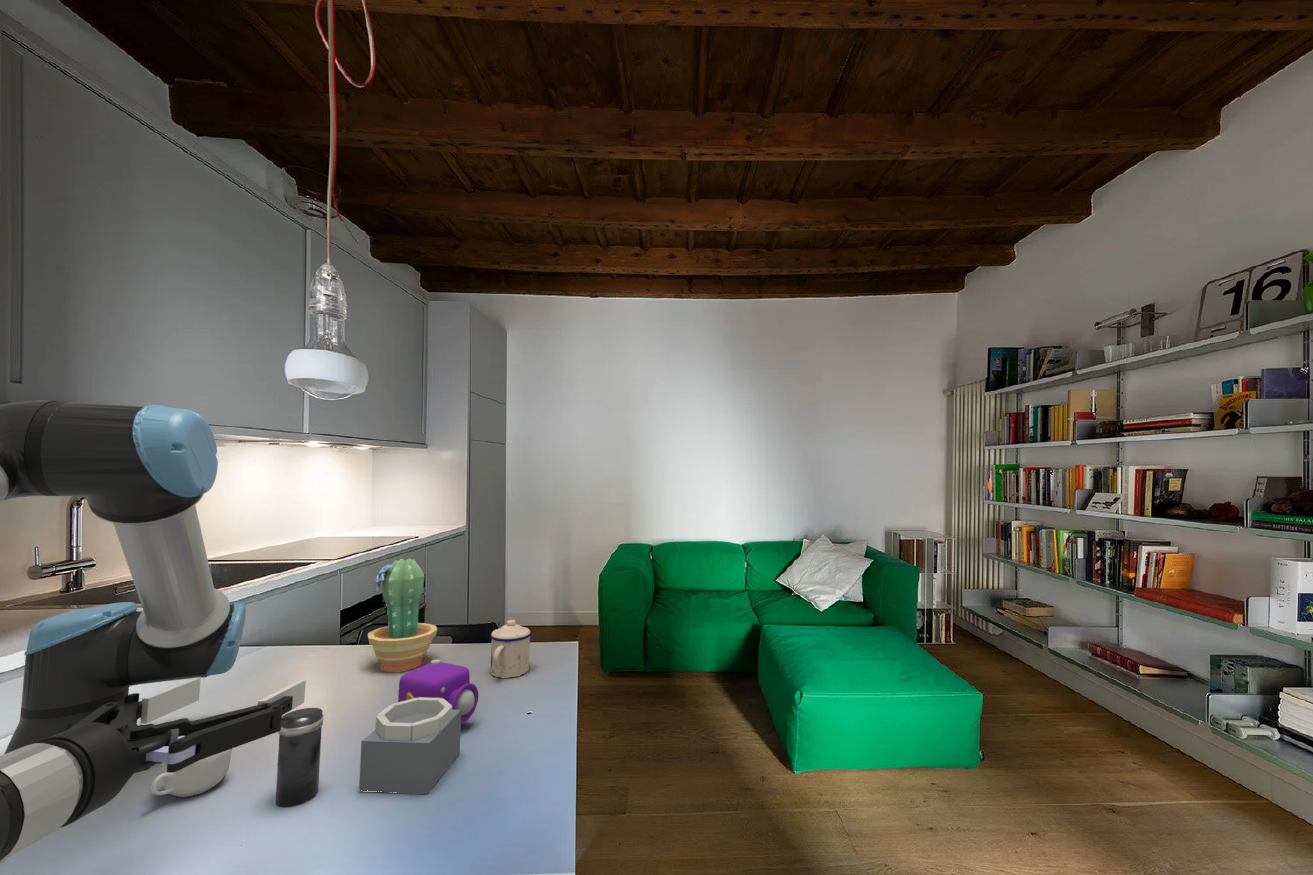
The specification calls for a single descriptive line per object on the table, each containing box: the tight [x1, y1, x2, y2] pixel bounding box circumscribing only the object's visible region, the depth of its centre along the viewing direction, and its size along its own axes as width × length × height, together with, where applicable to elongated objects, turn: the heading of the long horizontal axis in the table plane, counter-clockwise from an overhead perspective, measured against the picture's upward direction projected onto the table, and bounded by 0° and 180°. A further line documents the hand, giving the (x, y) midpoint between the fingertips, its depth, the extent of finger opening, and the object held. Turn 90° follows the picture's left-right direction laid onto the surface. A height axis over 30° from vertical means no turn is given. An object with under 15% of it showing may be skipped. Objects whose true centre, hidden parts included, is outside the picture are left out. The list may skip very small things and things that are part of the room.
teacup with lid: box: [490, 619, 532, 678], centre depth 122 cm, size 12×9×12 cm
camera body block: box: [358, 697, 462, 795], centre depth 81 cm, size 10×11×9 cm
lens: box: [274, 707, 324, 808], centre depth 75 cm, size 5×5×11 cm
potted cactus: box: [367, 558, 438, 673], centre depth 128 cm, size 15×15×25 cm
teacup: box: [150, 748, 233, 798], centre depth 75 cm, size 10×8×5 cm
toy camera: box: [397, 659, 479, 724], centre depth 97 cm, size 11×14×10 cm
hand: (249, 689), depth 66 cm, fingers open, 13 cm apart
